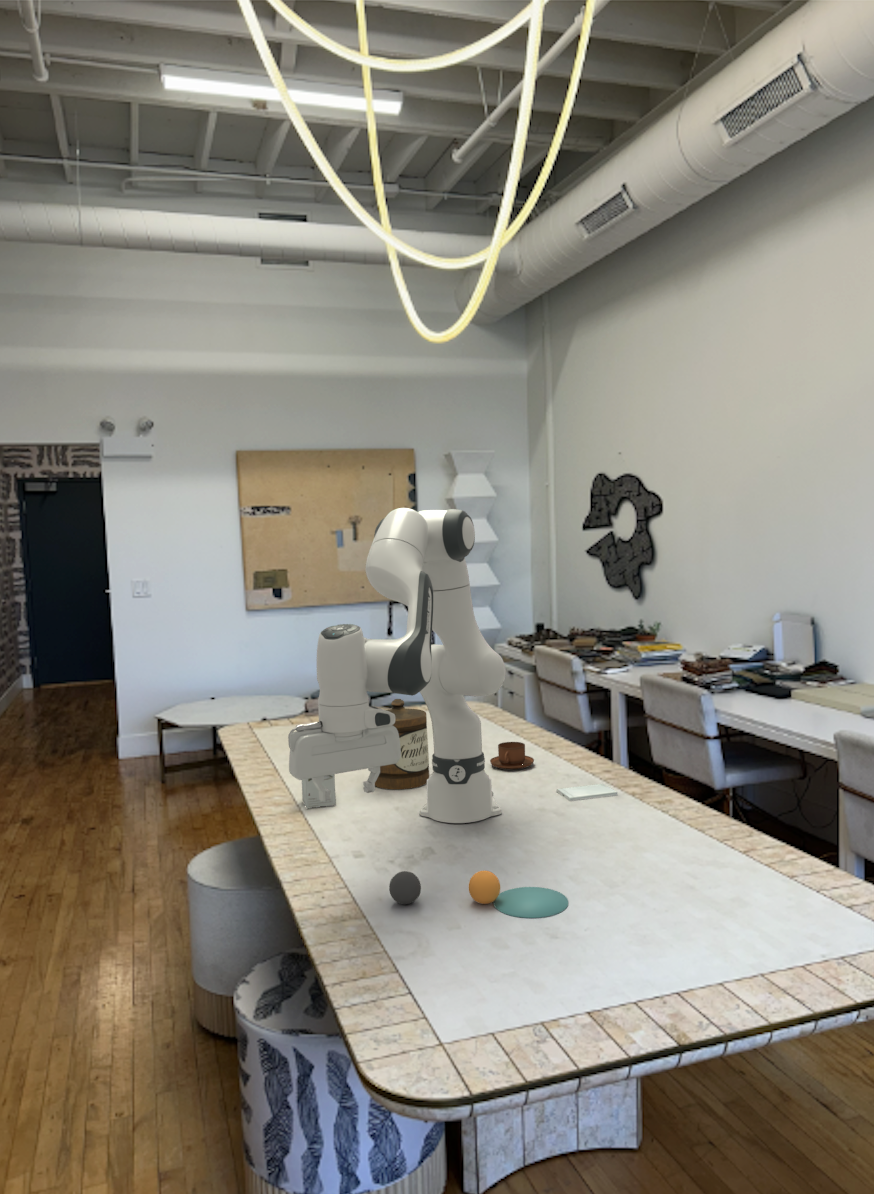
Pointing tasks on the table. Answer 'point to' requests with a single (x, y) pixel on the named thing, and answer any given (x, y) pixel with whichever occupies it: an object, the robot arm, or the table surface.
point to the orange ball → (484, 887)
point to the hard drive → (586, 792)
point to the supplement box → (312, 793)
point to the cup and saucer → (511, 756)
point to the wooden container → (407, 751)
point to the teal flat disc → (531, 902)
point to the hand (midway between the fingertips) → (347, 795)
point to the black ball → (405, 887)
